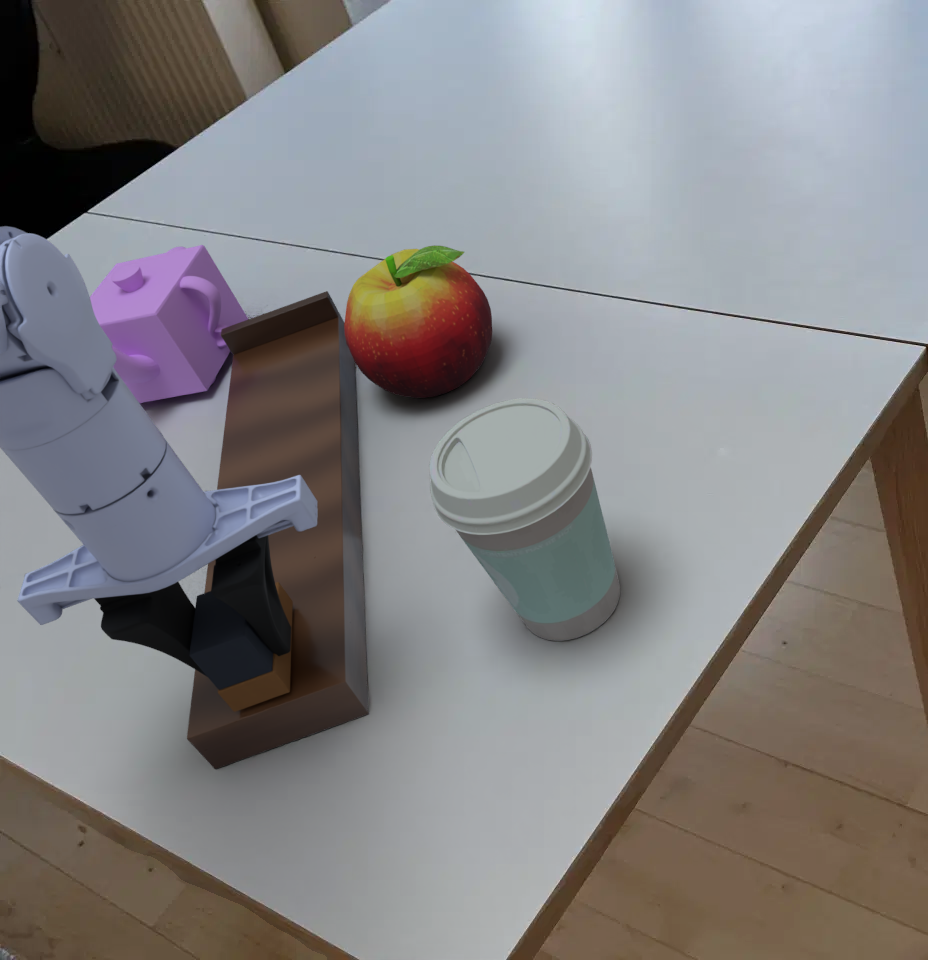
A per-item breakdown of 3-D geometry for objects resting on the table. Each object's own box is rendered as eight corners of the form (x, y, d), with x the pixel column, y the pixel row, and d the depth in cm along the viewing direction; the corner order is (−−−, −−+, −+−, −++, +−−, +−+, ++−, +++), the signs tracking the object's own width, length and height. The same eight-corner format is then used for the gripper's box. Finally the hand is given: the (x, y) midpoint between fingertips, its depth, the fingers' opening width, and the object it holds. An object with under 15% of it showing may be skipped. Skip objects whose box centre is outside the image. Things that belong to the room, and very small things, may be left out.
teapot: (214, 432, 86) (143, 328, 80) (65, 458, 90) (-16, 360, 83) (286, 302, 99) (230, 203, 93) (153, 329, 103) (90, 235, 96)
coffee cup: (523, 548, 67) (449, 397, 59) (656, 543, 64) (597, 384, 57) (481, 662, 61) (394, 511, 53) (627, 661, 58) (556, 502, 51)
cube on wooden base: (290, 692, 59) (246, 636, 56) (234, 712, 59) (186, 657, 56) (293, 601, 64) (253, 545, 61) (241, 620, 64) (198, 564, 61)
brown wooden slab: (369, 714, 61) (328, 658, 57) (214, 769, 61) (165, 717, 57) (354, 340, 91) (327, 290, 88) (251, 377, 91) (221, 328, 88)
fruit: (390, 345, 89) (336, 238, 82) (517, 318, 87) (472, 207, 80) (361, 431, 81) (299, 320, 75) (500, 404, 79) (448, 288, 72)
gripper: (260, 371, 54) (375, 558, 63) (-19, 472, 54) (135, 644, 63) (253, 457, 49) (380, 648, 57) (-57, 568, 49) (118, 742, 57)
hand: (252, 652), depth 60 cm, fingers closed on cube on wooden base, 3 cm apart
